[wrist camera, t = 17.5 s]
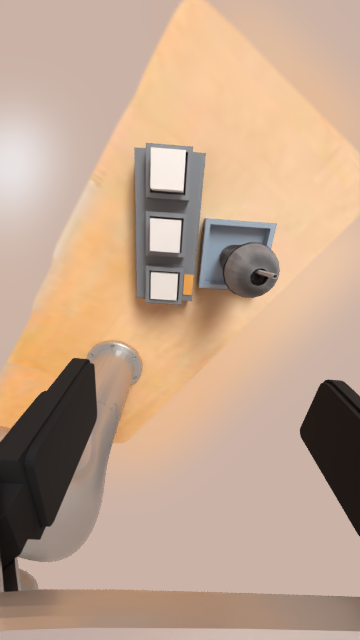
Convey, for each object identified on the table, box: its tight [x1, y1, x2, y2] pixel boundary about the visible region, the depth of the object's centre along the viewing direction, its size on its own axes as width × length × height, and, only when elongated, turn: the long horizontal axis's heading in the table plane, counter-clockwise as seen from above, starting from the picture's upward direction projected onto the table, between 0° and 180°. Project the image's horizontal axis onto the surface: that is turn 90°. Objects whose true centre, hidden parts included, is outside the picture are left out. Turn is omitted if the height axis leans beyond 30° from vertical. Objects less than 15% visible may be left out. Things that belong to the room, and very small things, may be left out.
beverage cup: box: [219, 242, 280, 298], centre depth 30 cm, size 7×7×20 cm
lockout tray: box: [198, 218, 277, 290], centre depth 39 cm, size 12×12×2 cm
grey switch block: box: [134, 143, 206, 305], centre depth 35 cm, size 22×10×8 cm, turn 176°
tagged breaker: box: [151, 271, 178, 300], centre depth 37 cm, size 4×4×2 cm
